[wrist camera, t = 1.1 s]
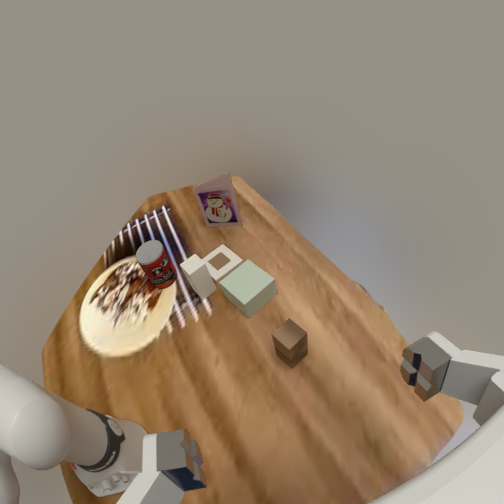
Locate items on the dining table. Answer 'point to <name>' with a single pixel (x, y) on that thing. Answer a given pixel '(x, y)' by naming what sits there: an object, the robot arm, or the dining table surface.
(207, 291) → the offwhite post
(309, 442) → the dining table surface
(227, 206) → the greeting card
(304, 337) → the walnut post
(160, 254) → the canned food
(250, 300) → the sage block
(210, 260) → the tile
